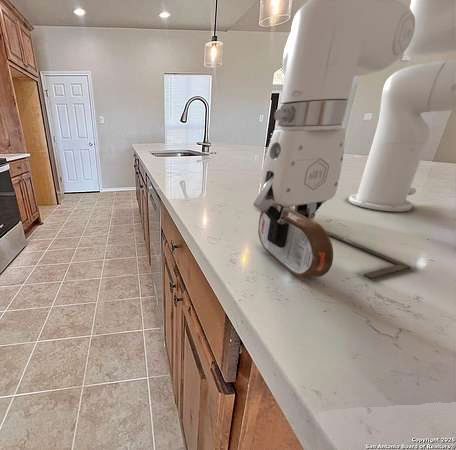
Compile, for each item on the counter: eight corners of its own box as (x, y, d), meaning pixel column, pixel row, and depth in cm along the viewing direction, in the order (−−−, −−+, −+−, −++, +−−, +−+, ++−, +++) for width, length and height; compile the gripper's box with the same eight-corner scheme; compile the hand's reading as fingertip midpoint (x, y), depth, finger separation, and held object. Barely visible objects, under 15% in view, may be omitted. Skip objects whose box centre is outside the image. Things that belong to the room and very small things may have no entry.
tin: (326, 288, 34) (344, 233, 30) (305, 290, 33) (321, 234, 30) (267, 241, 47) (275, 199, 44) (251, 241, 47) (259, 199, 44)
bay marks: (299, 220, 56) (299, 219, 56) (410, 267, 37) (411, 266, 37) (268, 226, 54) (268, 225, 54) (370, 279, 35) (370, 277, 35)
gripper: (279, 119, 27) (258, 262, 34) (385, 115, 31) (346, 243, 38) (238, 120, 33) (228, 240, 40) (330, 117, 38) (306, 226, 45)
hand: (285, 240), depth 39 cm, fingers closed on tin, 3 cm apart
